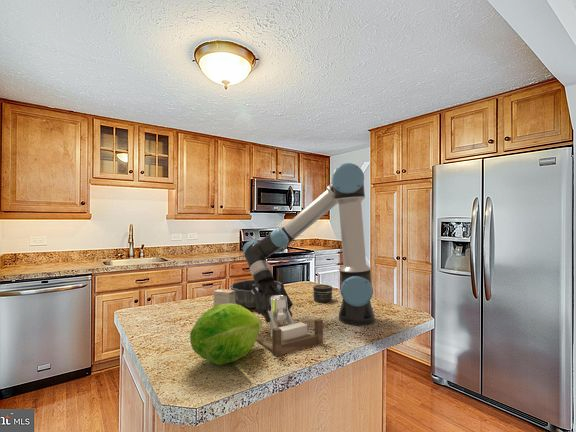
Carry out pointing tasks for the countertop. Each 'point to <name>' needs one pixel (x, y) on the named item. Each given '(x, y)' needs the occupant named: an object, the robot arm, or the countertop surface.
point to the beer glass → (278, 310)
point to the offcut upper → (293, 330)
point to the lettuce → (225, 333)
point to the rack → (295, 344)
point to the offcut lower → (295, 337)
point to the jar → (322, 293)
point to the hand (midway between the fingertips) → (283, 327)
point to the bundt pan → (247, 293)
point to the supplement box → (224, 297)
